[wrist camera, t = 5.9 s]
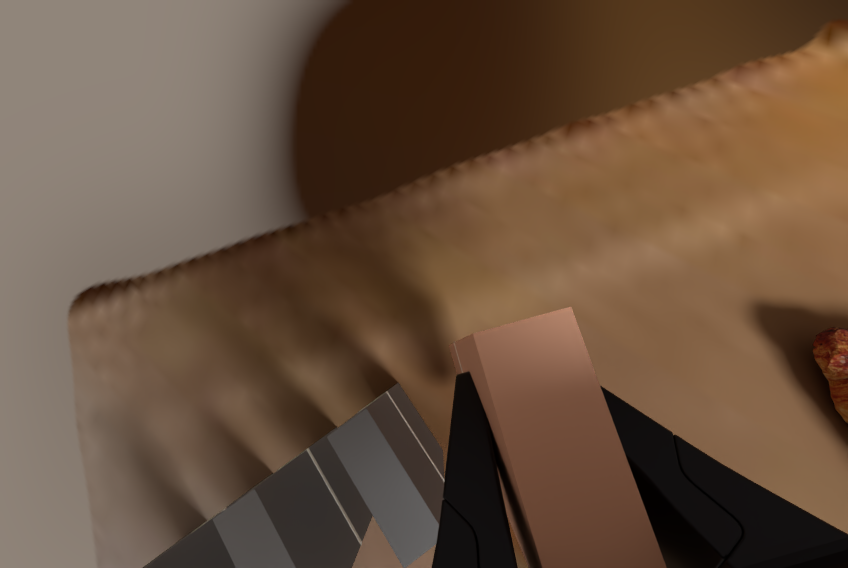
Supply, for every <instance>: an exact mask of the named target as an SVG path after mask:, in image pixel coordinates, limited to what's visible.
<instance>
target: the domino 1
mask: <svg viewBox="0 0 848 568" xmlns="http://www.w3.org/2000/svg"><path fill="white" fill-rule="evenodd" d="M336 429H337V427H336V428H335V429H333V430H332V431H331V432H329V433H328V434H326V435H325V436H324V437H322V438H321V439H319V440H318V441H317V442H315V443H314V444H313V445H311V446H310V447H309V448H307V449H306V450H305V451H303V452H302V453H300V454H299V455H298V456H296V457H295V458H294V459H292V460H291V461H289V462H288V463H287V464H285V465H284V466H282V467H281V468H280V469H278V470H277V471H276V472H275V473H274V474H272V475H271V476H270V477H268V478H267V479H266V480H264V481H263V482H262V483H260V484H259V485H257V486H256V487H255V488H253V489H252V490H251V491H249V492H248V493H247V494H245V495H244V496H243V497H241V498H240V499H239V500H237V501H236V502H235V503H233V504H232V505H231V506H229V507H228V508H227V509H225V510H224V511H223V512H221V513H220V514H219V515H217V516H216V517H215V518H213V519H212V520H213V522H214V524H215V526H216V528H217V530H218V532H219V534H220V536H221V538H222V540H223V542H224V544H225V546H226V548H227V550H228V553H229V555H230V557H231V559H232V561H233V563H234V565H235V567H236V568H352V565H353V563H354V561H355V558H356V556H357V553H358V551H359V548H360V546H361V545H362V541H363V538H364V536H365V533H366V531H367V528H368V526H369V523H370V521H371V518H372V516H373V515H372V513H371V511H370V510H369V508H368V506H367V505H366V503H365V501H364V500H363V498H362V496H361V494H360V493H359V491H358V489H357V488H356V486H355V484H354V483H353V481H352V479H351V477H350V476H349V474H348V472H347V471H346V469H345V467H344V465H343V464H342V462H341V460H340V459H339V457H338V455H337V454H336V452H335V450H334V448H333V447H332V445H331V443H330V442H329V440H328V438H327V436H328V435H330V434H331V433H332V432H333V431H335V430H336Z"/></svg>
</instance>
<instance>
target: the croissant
mask: <svg viewBox="0 0 848 568" xmlns="http://www.w3.org/2000/svg"><path fill="white" fill-rule="evenodd" d="M813 346H814V347H815V348H814V349H813V353H814V358H815V360H816V362H817V363H818V365H819V366H820V368H821V369H822V371H823V374H824V375H825V377H826V378H827V379H828V381H829V387H830V392H831V394H830V395H831V398H832V400H833V402H834V404H835V409H836V410H837V411H838V413H839V414H840V415H841V416H842V417H843V419H844V421H846V422H847V423H848V329H843V328H838V327H832V328H830V329H827V330H825V331H823V332H821V333H819V334H818V335H816V339H815V341H814V343H813Z"/></svg>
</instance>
